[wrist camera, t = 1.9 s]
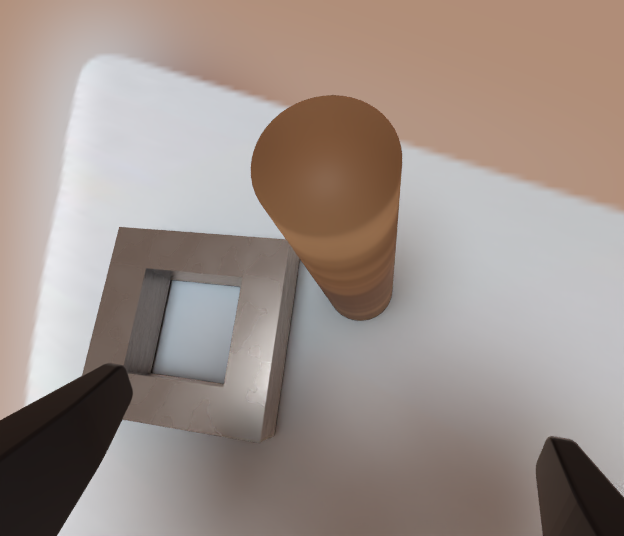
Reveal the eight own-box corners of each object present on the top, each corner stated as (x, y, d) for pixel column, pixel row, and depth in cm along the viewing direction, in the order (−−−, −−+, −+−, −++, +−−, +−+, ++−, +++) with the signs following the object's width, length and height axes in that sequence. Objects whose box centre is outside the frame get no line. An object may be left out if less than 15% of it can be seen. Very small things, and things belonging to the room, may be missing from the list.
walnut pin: (389, 323, 21) (395, 239, 8) (324, 316, 21) (239, 228, 9) (395, 260, 21) (408, 95, 9) (332, 255, 22) (263, 95, 10)
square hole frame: (274, 435, 20) (259, 443, 18) (107, 407, 22) (73, 410, 20) (300, 254, 22) (289, 239, 20) (145, 242, 24) (119, 227, 22)
